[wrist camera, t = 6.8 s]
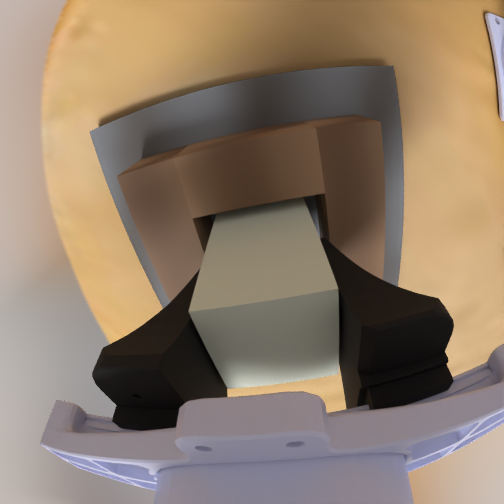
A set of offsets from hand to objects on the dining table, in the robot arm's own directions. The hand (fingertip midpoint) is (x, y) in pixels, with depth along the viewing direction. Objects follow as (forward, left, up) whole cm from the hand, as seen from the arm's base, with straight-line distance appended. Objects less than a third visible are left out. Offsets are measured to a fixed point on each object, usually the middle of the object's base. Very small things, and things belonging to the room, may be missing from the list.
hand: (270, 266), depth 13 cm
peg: (0, 0, -2) cm, 2 cm away
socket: (0, 0, -4) cm, 4 cm away
